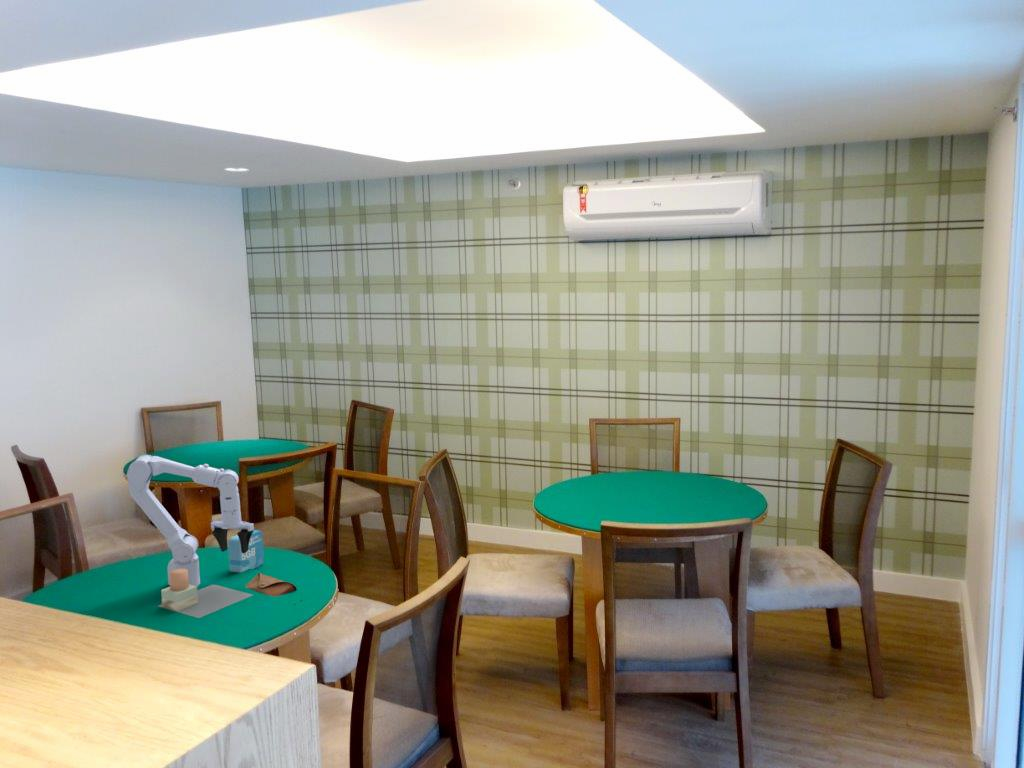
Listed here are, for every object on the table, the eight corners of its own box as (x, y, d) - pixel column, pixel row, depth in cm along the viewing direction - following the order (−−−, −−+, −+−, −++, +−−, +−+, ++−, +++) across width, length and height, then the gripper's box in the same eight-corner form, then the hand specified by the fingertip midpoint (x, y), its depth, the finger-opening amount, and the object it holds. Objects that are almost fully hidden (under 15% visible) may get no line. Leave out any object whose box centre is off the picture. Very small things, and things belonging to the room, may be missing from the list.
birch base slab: (162, 606, 247) (161, 598, 247) (182, 598, 253) (182, 590, 253) (177, 611, 244) (177, 602, 243) (198, 602, 250) (197, 594, 249)
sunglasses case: (237, 589, 263) (245, 568, 265) (254, 594, 268) (262, 573, 270) (275, 601, 252) (283, 579, 254) (292, 606, 258) (300, 585, 260)
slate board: (157, 609, 248) (157, 605, 248) (213, 587, 265) (213, 584, 265) (198, 621, 239) (198, 618, 238) (253, 598, 256) (253, 594, 255)
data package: (240, 575, 275) (238, 540, 273) (229, 574, 277) (227, 538, 275) (264, 564, 286) (262, 529, 284) (253, 562, 288) (251, 528, 286)
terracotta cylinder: (166, 588, 247) (165, 572, 247) (182, 583, 251) (181, 567, 251) (176, 592, 245) (175, 575, 244) (192, 587, 249) (191, 570, 248)
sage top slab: (161, 598, 247) (161, 589, 247) (182, 590, 253) (181, 582, 253) (177, 602, 243) (176, 594, 243) (197, 594, 249) (197, 586, 249)
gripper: (202, 512, 263) (207, 554, 265) (242, 514, 259) (246, 557, 261) (217, 505, 270) (221, 546, 272) (256, 507, 265) (260, 549, 267)
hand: (234, 551), depth 267 cm, fingers open, 7 cm apart
